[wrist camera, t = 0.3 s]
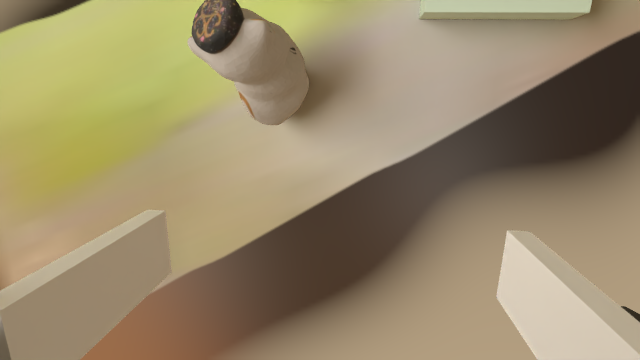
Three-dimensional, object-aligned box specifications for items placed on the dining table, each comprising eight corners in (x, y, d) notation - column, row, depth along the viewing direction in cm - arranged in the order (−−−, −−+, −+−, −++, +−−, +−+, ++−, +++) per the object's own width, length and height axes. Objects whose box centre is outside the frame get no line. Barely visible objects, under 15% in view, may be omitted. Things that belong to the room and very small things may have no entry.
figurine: (319, 32, 37) (292, -9, 22) (310, 126, 39) (280, 144, 25) (240, 24, 38) (164, -20, 23) (236, 117, 40) (165, 130, 26)
